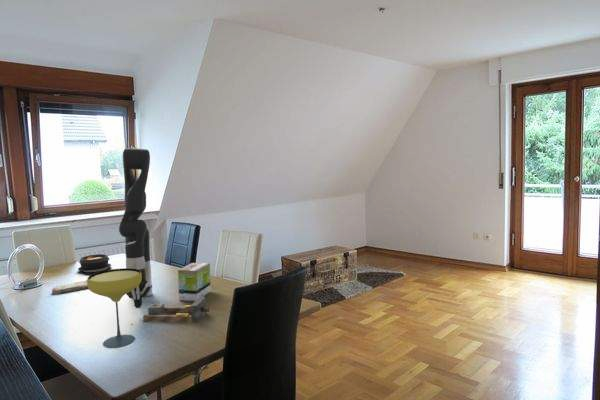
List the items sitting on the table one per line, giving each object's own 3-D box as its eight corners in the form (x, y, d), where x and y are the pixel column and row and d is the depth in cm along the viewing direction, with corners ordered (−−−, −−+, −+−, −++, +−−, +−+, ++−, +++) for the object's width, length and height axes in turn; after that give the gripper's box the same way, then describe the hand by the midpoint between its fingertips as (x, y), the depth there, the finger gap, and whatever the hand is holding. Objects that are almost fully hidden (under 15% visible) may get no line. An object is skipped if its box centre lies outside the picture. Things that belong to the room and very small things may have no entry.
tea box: (198, 301, 197) (196, 270, 195) (178, 300, 199) (176, 269, 197) (211, 291, 211) (210, 262, 210) (192, 290, 213) (191, 262, 212)
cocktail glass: (90, 356, 143) (85, 284, 140) (93, 336, 159) (88, 272, 157) (147, 346, 150) (142, 277, 147) (144, 328, 166) (140, 265, 164)
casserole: (77, 268, 266) (76, 255, 265) (109, 263, 276) (108, 251, 275) (79, 277, 245) (78, 263, 244) (114, 272, 254) (113, 258, 253)
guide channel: (143, 321, 173) (142, 305, 172) (155, 312, 184) (154, 296, 183) (204, 322, 170) (203, 306, 169) (213, 312, 181) (212, 297, 180)
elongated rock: (50, 294, 218) (55, 300, 211) (48, 285, 217) (53, 290, 210) (119, 277, 241) (125, 281, 234) (118, 268, 240) (124, 272, 233)
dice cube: (153, 314, 181) (152, 303, 180) (164, 314, 181) (163, 303, 180) (148, 319, 176) (147, 307, 175) (160, 319, 176) (159, 307, 175)
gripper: (115, 269, 174) (118, 310, 175) (146, 269, 172) (149, 310, 174) (125, 265, 181) (127, 304, 183) (154, 264, 180) (157, 304, 181)
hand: (138, 307), depth 178 cm, fingers closed
